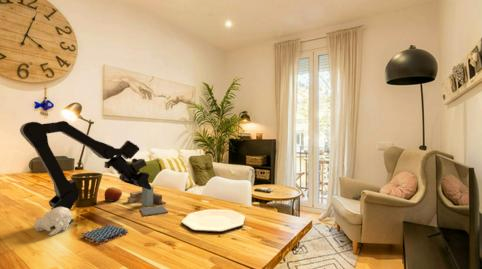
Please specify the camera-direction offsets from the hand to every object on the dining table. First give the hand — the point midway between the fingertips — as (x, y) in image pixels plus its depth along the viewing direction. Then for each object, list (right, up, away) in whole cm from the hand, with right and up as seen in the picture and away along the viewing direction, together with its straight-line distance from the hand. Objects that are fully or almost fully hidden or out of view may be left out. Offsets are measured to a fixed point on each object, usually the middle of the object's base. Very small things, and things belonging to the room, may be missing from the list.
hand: (145, 187), depth 113 cm
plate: (+35, -9, -20) cm, 42 cm away
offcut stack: (-8, -9, +8) cm, 14 cm away
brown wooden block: (+3, -9, +6) cm, 11 cm away
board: (+1, -9, +1) cm, 9 cm away
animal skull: (-19, -8, -32) cm, 39 cm away
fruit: (-20, -9, +8) cm, 23 cm away
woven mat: (+1, -9, -35) cm, 36 cm away
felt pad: (+7, -8, -9) cm, 14 cm away
